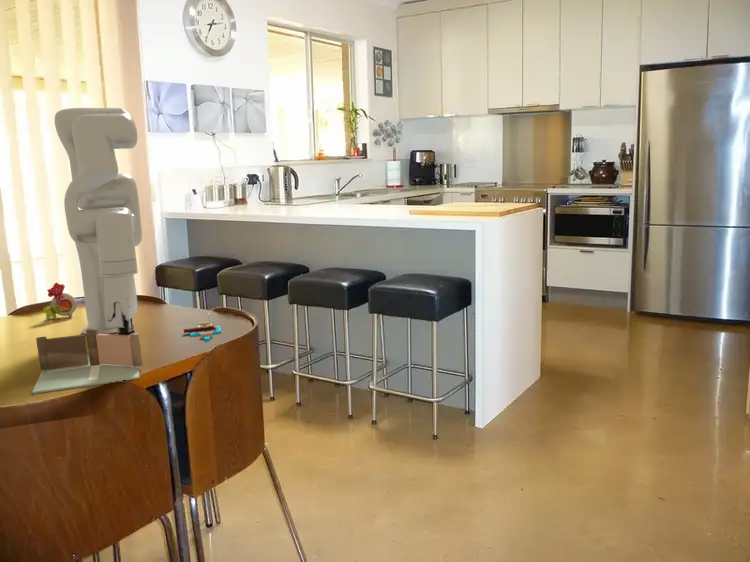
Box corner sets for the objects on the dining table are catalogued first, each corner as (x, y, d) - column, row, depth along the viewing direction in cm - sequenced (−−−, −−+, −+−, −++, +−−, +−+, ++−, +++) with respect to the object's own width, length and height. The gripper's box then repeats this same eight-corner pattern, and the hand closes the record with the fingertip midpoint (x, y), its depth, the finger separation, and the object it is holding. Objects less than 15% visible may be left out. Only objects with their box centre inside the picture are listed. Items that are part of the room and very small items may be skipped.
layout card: (47, 361, 155) (47, 359, 155) (138, 349, 161) (138, 347, 161) (32, 394, 131) (32, 391, 131) (139, 378, 138) (139, 376, 138)
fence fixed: (41, 370, 146) (36, 335, 145) (102, 362, 150) (97, 327, 149) (40, 373, 144) (35, 337, 143) (101, 364, 148) (97, 329, 147)
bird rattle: (72, 321, 209) (41, 312, 206) (83, 288, 209) (53, 279, 206) (69, 325, 203) (38, 317, 200) (80, 291, 203) (49, 282, 200)
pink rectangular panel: (104, 361, 149) (101, 330, 148) (144, 364, 145) (141, 333, 144) (98, 364, 147) (94, 333, 146) (138, 367, 143) (134, 335, 142)
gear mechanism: (185, 345, 165) (223, 340, 168) (182, 324, 164) (221, 320, 167) (183, 328, 184) (218, 324, 187) (181, 309, 183) (216, 305, 186)
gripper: (109, 263, 152) (118, 340, 155) (91, 274, 137) (101, 360, 141) (143, 261, 153) (151, 338, 156) (129, 272, 138) (138, 357, 142)
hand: (128, 348), depth 149 cm, fingers closed
